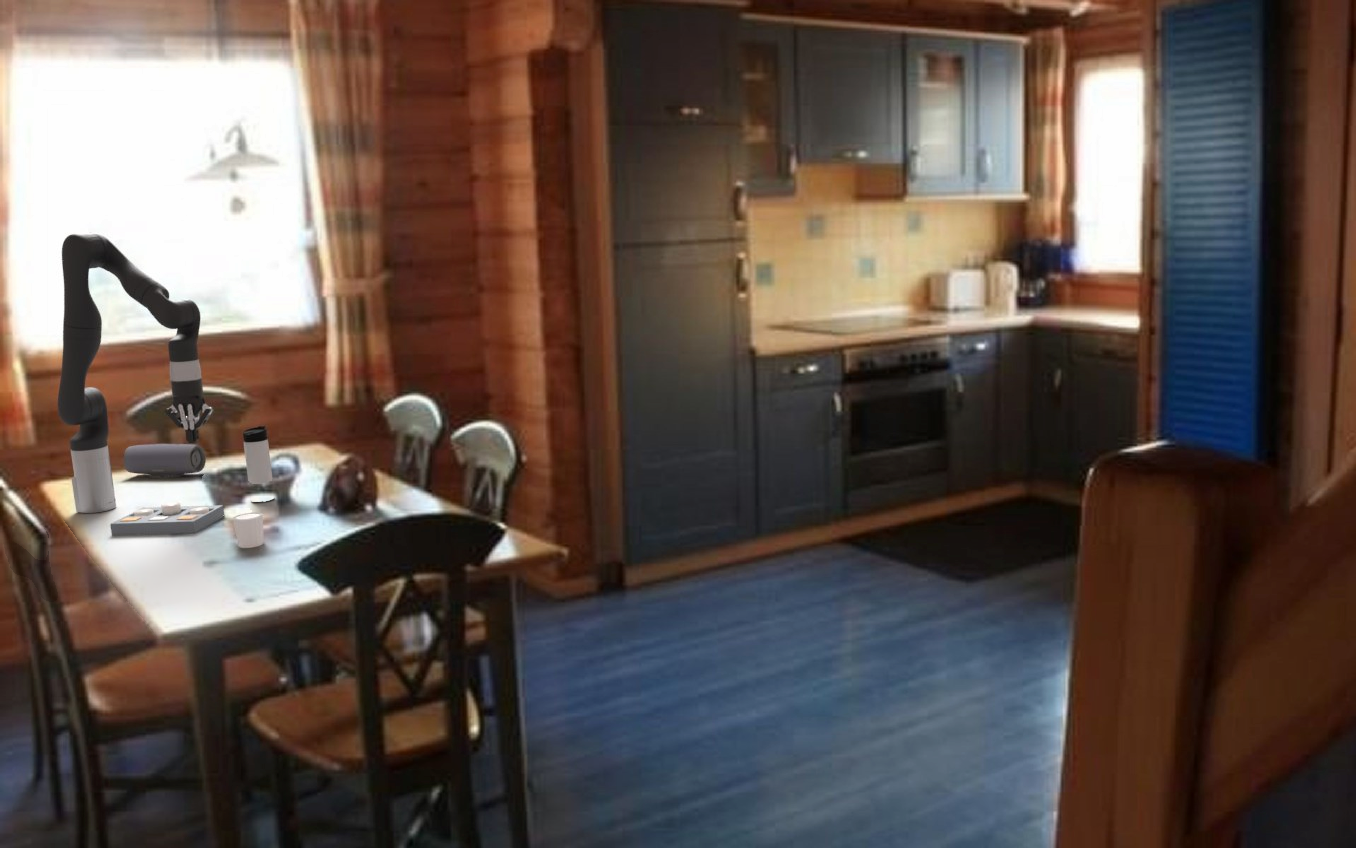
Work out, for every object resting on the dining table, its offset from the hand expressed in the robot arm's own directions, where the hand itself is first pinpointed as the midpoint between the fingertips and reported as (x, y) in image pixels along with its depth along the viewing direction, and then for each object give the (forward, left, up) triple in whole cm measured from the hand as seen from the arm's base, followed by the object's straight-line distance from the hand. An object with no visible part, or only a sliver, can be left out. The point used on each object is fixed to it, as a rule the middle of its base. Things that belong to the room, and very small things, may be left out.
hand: (193, 443), depth 339 cm
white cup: (+28, -32, -19) cm, 47 cm away
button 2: (+5, -10, -18) cm, 22 cm away
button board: (-3, -12, -19) cm, 23 cm away
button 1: (-10, -10, -18) cm, 23 cm away
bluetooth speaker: (-35, +48, -19) cm, 63 cm away
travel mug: (+11, +13, -19) cm, 25 cm away
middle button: (-3, -10, -17) cm, 20 cm away
